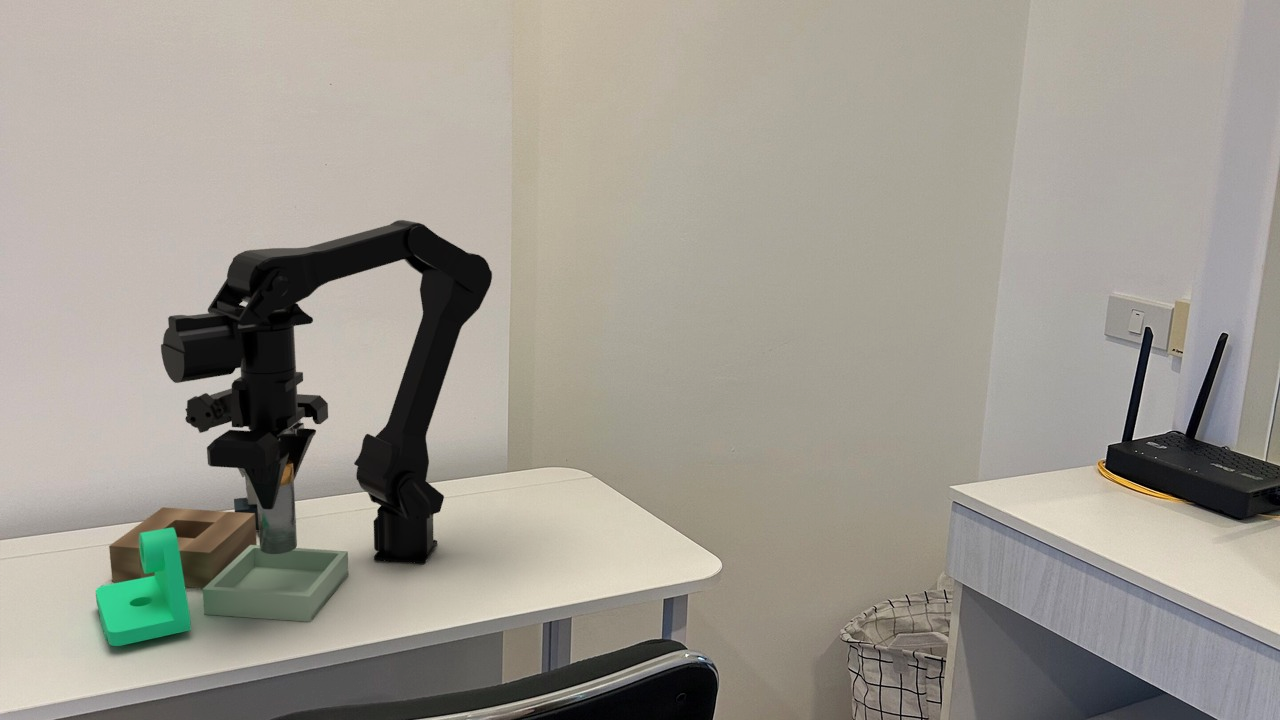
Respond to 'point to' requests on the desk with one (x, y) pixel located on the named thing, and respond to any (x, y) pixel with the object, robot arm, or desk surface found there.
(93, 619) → the desk surface
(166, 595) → the camera mount
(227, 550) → the hole block
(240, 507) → the watch
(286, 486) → the steel pin
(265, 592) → the tray
